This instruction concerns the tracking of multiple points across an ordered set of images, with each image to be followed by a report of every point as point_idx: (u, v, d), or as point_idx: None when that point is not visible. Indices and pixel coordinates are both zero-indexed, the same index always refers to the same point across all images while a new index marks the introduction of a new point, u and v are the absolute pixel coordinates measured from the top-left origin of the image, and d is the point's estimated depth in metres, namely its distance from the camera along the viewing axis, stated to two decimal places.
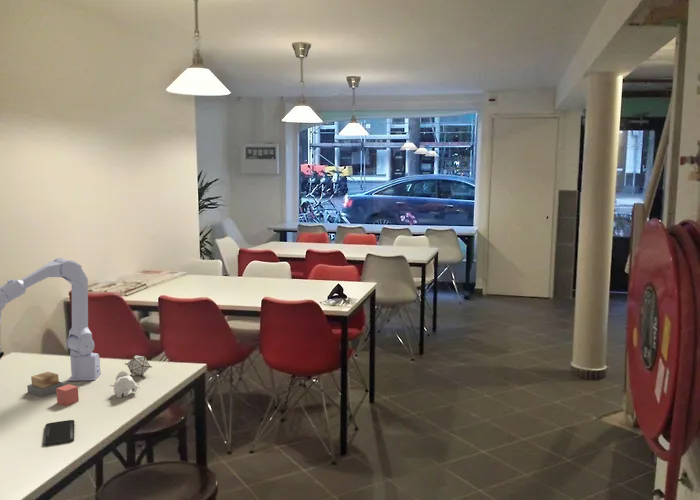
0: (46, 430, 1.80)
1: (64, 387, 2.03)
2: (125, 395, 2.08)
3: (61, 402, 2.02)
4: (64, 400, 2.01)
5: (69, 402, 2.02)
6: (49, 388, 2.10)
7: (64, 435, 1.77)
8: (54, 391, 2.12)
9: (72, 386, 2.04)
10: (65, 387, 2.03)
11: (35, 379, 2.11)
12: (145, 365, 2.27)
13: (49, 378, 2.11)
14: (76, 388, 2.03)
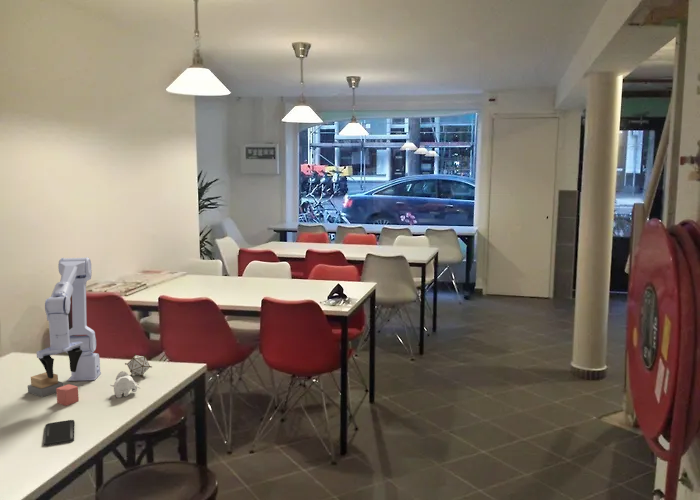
0: (46, 430, 1.80)
1: (64, 387, 2.03)
2: (125, 395, 2.08)
3: (61, 402, 2.02)
4: (64, 400, 2.01)
5: (69, 402, 2.02)
6: (49, 388, 2.10)
7: (64, 435, 1.77)
8: (54, 391, 2.12)
9: (72, 386, 2.04)
10: (65, 387, 2.03)
11: (34, 379, 2.10)
12: (145, 365, 2.27)
13: (48, 378, 2.11)
14: (76, 388, 2.03)
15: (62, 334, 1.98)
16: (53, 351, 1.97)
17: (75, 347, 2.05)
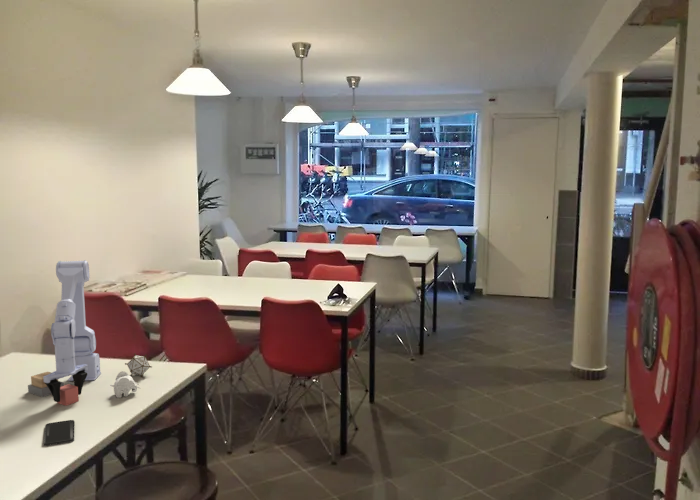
0: (46, 430, 1.80)
1: (64, 387, 2.03)
2: (125, 395, 2.08)
3: (61, 402, 2.02)
4: (64, 400, 2.01)
5: (69, 402, 2.02)
6: None
7: (64, 435, 1.77)
8: None
9: (72, 386, 2.04)
10: (65, 387, 2.03)
11: (34, 379, 2.11)
12: (145, 365, 2.27)
13: None
14: (76, 388, 2.03)
15: (68, 358, 2.00)
16: (60, 375, 1.99)
17: (80, 370, 2.07)
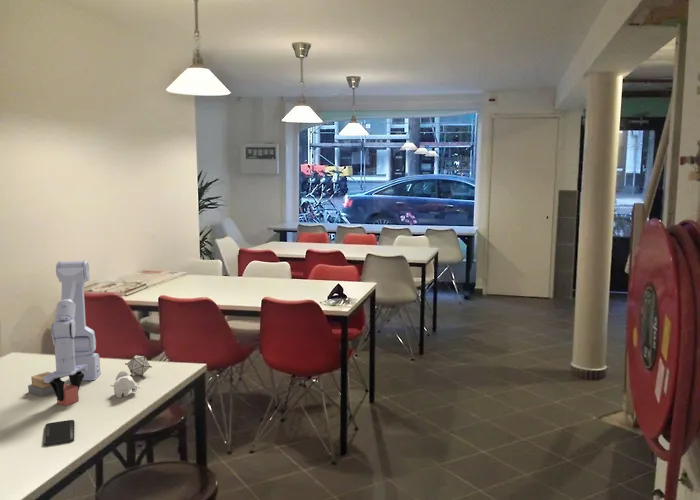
0: (46, 430, 1.80)
1: (64, 387, 2.03)
2: (125, 395, 2.08)
3: (61, 402, 2.02)
4: (64, 400, 2.01)
5: (69, 402, 2.02)
6: (50, 388, 2.10)
7: (64, 435, 1.77)
8: None
9: (72, 386, 2.04)
10: (65, 387, 2.03)
11: (35, 379, 2.11)
12: (145, 365, 2.27)
13: None
14: (76, 388, 2.03)
15: (68, 358, 2.00)
16: (60, 375, 1.99)
17: (80, 370, 2.07)
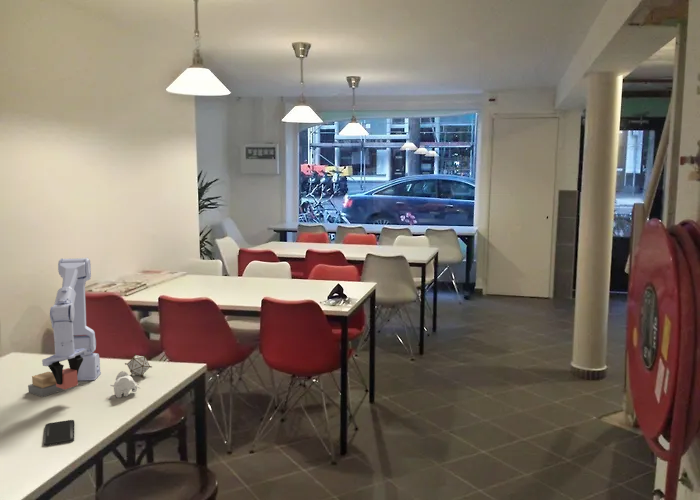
0: (46, 430, 1.80)
1: (63, 371, 2.02)
2: (125, 395, 2.08)
3: (60, 386, 2.01)
4: (63, 384, 2.00)
5: (68, 386, 2.01)
6: (50, 388, 2.10)
7: (64, 435, 1.77)
8: (55, 391, 2.12)
9: (71, 370, 2.03)
10: (64, 371, 2.02)
11: (36, 379, 2.11)
12: (145, 365, 2.27)
13: (50, 378, 2.11)
14: (75, 372, 2.03)
15: (67, 341, 1.99)
16: (59, 359, 1.98)
17: (79, 354, 2.06)
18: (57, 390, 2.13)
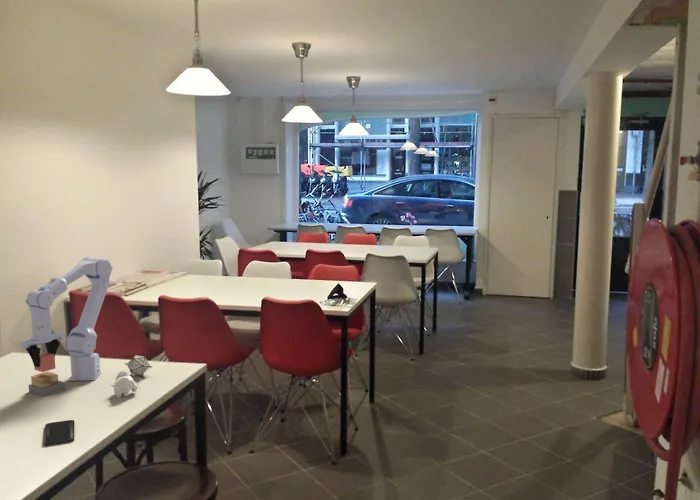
0: (46, 430, 1.80)
1: (41, 354, 2.12)
2: (125, 395, 2.08)
3: (38, 369, 2.10)
4: (41, 367, 2.09)
5: (46, 369, 2.10)
6: (50, 388, 2.11)
7: (64, 435, 1.77)
8: (55, 391, 2.12)
9: (49, 354, 2.12)
10: (42, 354, 2.12)
11: (34, 379, 2.11)
12: (145, 365, 2.27)
13: (48, 378, 2.11)
14: (53, 355, 2.12)
15: (38, 326, 2.08)
16: (36, 342, 2.07)
17: (56, 338, 2.15)
18: (57, 390, 2.13)
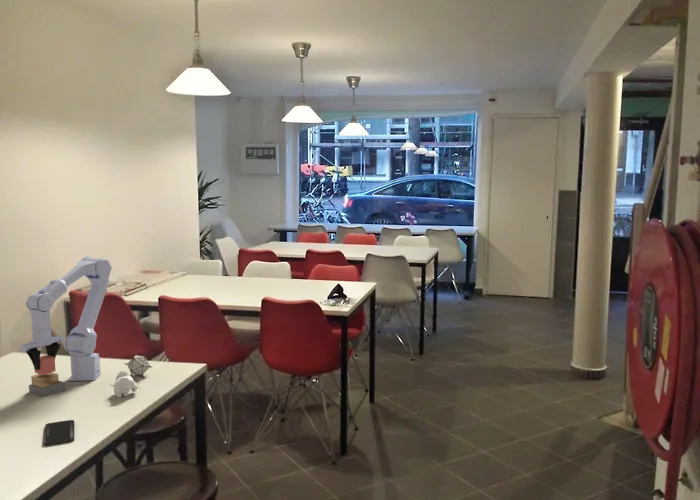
0: (46, 430, 1.80)
1: (41, 357, 2.12)
2: (125, 395, 2.08)
3: (38, 371, 2.10)
4: (41, 370, 2.09)
5: (46, 371, 2.10)
6: (50, 388, 2.11)
7: (64, 435, 1.77)
8: (55, 391, 2.12)
9: (49, 356, 2.13)
10: (42, 357, 2.12)
11: (35, 379, 2.11)
12: (145, 365, 2.27)
13: (49, 378, 2.12)
14: (53, 358, 2.12)
15: (38, 329, 2.08)
16: (36, 345, 2.07)
17: (56, 341, 2.15)
18: (58, 390, 2.13)
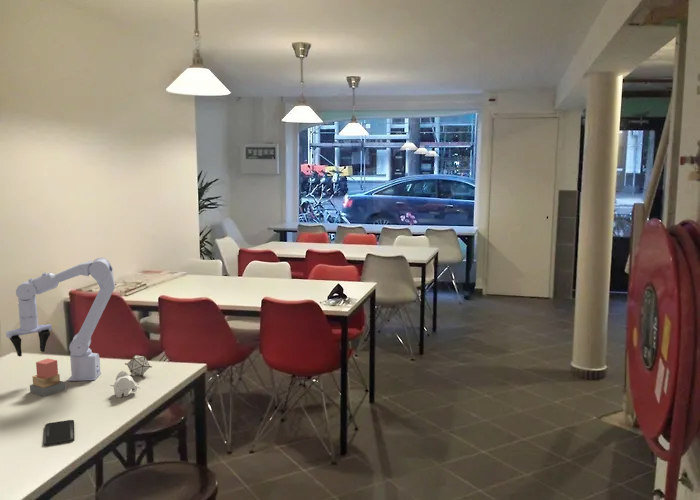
0: (46, 430, 1.80)
1: (44, 361, 2.12)
2: (125, 395, 2.08)
3: (41, 375, 2.11)
4: (45, 373, 2.10)
5: (49, 375, 2.11)
6: (51, 388, 2.11)
7: (64, 435, 1.77)
8: (56, 391, 2.12)
9: (51, 360, 2.13)
10: (45, 361, 2.12)
11: (36, 379, 2.11)
12: (145, 365, 2.27)
13: (50, 378, 2.12)
14: (55, 362, 2.13)
15: (19, 316, 2.17)
16: (21, 332, 2.16)
17: (44, 329, 2.24)
18: (59, 390, 2.13)
